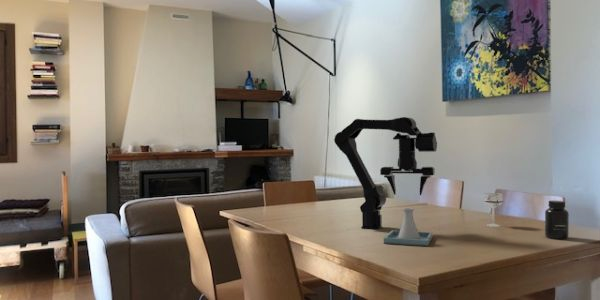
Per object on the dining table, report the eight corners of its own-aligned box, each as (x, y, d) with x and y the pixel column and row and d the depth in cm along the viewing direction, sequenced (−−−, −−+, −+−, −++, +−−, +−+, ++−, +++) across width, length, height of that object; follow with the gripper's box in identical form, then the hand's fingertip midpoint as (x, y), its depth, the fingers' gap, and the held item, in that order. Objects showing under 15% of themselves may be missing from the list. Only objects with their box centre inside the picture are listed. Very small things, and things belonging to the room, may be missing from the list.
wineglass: (499, 224, 181) (499, 192, 180) (505, 227, 174) (505, 194, 174) (481, 224, 181) (481, 193, 181) (486, 227, 174) (486, 194, 174)
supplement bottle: (560, 240, 149) (559, 203, 149) (540, 237, 155) (540, 200, 155) (573, 238, 152) (573, 201, 152) (553, 234, 158) (553, 199, 158)
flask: (412, 242, 148) (412, 211, 148) (393, 239, 153) (392, 209, 153) (424, 239, 153) (424, 208, 153) (405, 236, 158) (404, 206, 158)
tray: (383, 243, 149) (383, 237, 149) (391, 235, 162) (391, 230, 162) (427, 246, 144) (427, 240, 144) (432, 237, 157) (432, 232, 157)
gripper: (435, 151, 174) (436, 193, 174) (385, 151, 181) (386, 192, 181) (432, 151, 164) (433, 196, 164) (379, 152, 171) (380, 195, 171)
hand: (407, 194), depth 170 cm, fingers open, 9 cm apart
